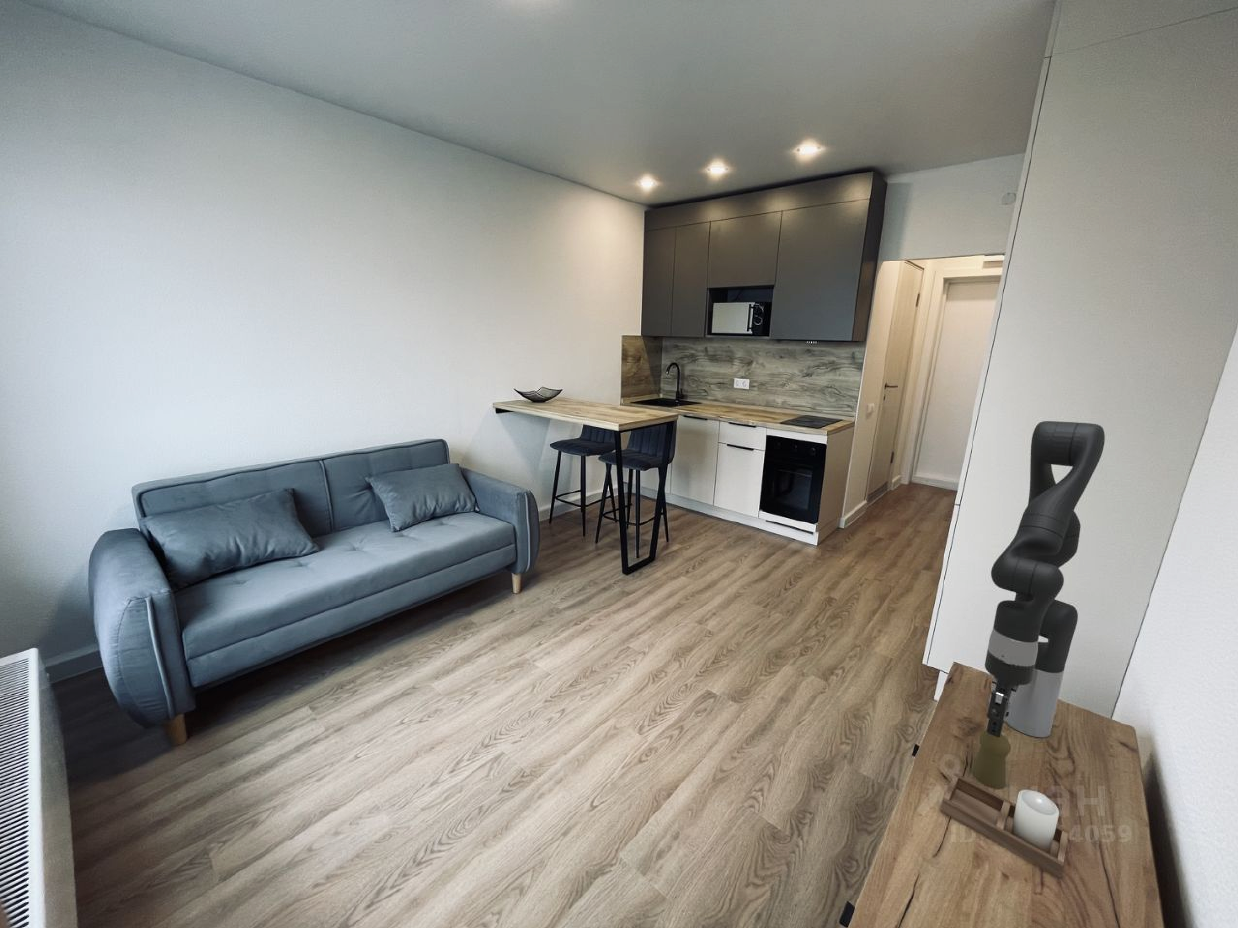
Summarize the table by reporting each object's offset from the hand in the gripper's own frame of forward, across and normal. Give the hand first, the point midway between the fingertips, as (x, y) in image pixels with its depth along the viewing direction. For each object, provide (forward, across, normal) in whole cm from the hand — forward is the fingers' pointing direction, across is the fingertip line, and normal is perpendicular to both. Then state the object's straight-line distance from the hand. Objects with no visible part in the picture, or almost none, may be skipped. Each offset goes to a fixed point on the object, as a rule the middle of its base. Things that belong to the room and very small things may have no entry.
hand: (997, 723), depth 101 cm
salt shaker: (+13, +12, +8) cm, 20 cm away
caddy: (+14, +12, +4) cm, 19 cm away
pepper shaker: (+14, 0, 0) cm, 14 cm away
